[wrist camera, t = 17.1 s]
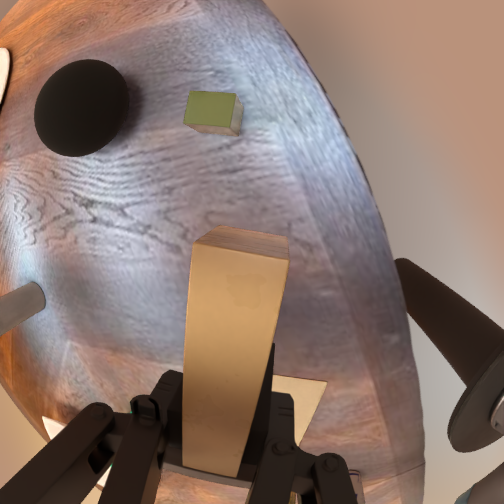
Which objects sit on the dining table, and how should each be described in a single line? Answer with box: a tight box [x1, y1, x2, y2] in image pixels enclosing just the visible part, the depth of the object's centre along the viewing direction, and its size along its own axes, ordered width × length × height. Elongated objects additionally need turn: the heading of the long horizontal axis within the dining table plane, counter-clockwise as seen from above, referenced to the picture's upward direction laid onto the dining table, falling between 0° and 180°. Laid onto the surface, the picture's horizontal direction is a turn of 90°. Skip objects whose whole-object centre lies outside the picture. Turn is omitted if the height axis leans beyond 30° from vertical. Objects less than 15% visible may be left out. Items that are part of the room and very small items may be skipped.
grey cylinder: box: [0, 282, 45, 336], centre depth 28 cm, size 4×4×10 cm
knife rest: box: [183, 91, 244, 137], centre depth 22 cm, size 4×3×4 cm
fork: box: [162, 225, 290, 489], centre depth 13 cm, size 19×5×8 cm, turn 171°
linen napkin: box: [272, 374, 327, 446], centre depth 32 cm, size 15×16×1 cm
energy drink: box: [349, 471, 365, 504], centre depth 29 cm, size 5×5×12 cm
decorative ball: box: [34, 59, 129, 157], centre depth 21 cm, size 10×10×10 cm
